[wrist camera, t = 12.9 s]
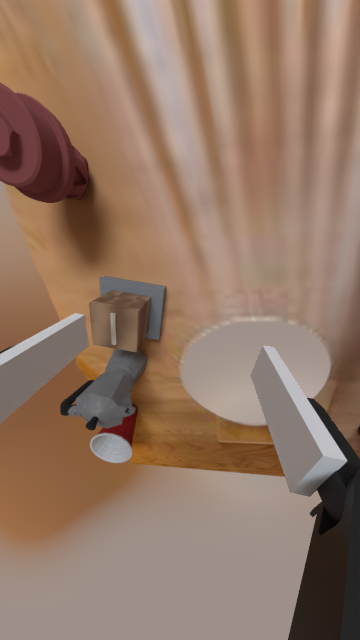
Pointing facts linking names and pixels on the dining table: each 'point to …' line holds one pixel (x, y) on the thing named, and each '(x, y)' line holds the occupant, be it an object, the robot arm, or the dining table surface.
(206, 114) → the dining table surface
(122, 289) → the shaft stand
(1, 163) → the mechanical component
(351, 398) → the dining table surface
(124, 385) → the coffeepot
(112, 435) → the plastic cup
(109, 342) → the cardboard box
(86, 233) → the dining table surface
